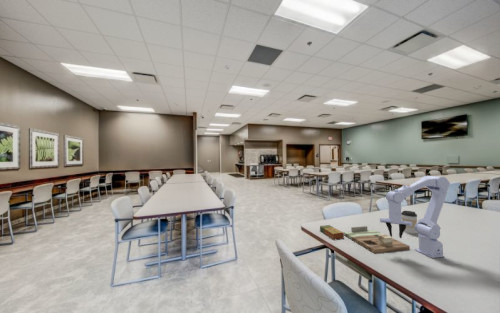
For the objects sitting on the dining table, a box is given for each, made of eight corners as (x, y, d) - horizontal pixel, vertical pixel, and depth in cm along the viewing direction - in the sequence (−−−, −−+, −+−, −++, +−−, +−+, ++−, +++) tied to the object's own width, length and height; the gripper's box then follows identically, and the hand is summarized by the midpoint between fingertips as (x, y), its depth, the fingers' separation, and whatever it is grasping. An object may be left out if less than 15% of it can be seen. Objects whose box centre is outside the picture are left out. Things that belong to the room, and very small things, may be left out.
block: (392, 245, 110) (392, 237, 110) (385, 246, 109) (385, 238, 109) (385, 242, 114) (384, 234, 115) (378, 242, 114) (377, 234, 114)
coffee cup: (403, 233, 133) (402, 212, 133) (400, 228, 141) (399, 209, 141) (419, 235, 129) (419, 213, 129) (415, 230, 137) (414, 210, 137)
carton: (333, 240, 124) (333, 233, 124) (319, 231, 140) (319, 225, 140) (344, 238, 126) (343, 232, 126) (329, 230, 141) (329, 224, 141)
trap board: (409, 249, 109) (409, 240, 109) (373, 253, 105) (373, 244, 105) (373, 232, 135) (373, 225, 135) (343, 234, 131) (343, 227, 131)
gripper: (409, 212, 105) (410, 236, 105) (378, 209, 112) (379, 232, 112) (413, 215, 99) (413, 241, 99) (380, 212, 106) (380, 236, 106)
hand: (395, 236), depth 105 cm, fingers open, 4 cm apart
